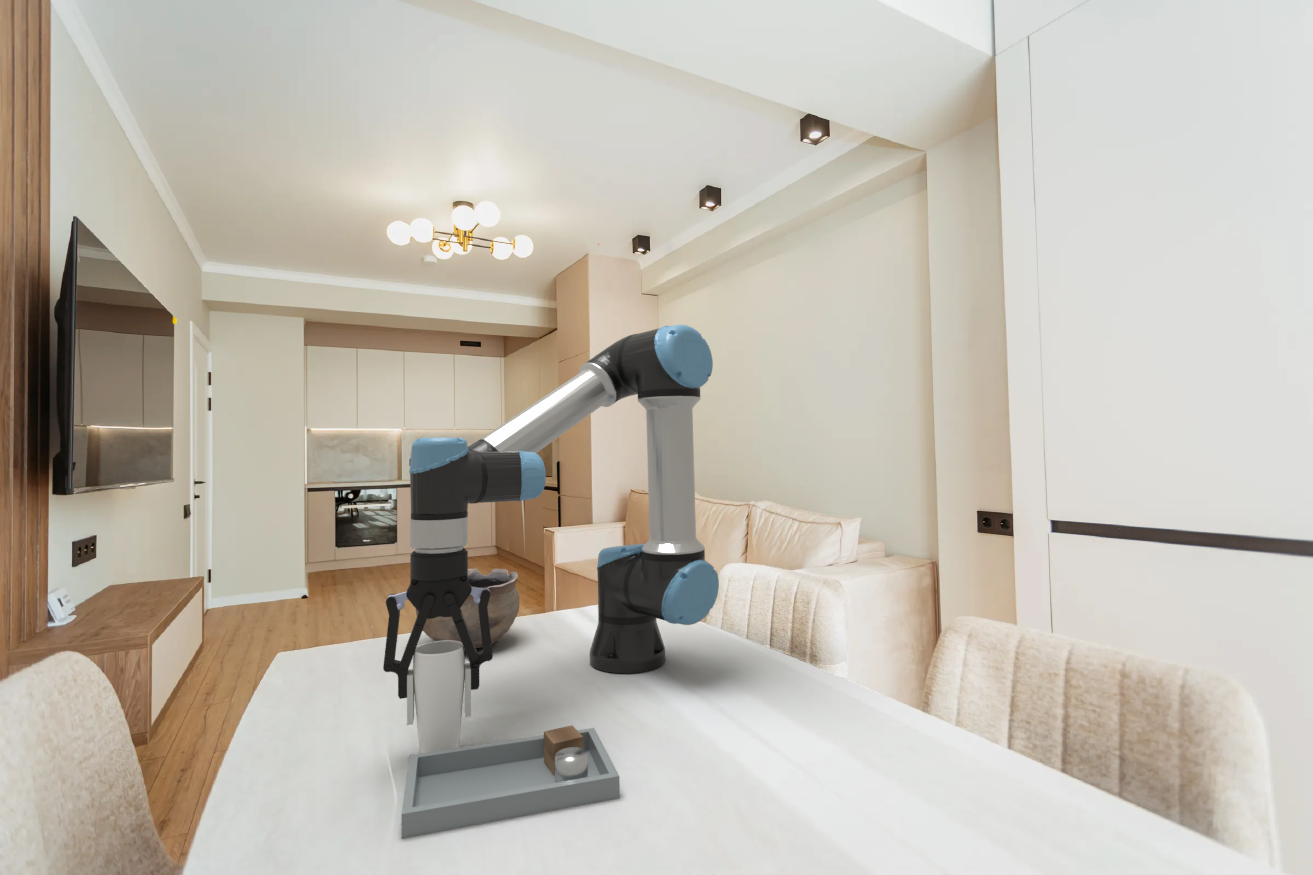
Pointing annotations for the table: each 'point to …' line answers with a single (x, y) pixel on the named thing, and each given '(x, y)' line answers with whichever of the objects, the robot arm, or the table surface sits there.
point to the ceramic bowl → (499, 611)
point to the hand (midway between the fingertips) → (439, 716)
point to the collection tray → (498, 784)
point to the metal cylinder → (571, 764)
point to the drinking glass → (439, 694)
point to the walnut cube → (559, 743)
